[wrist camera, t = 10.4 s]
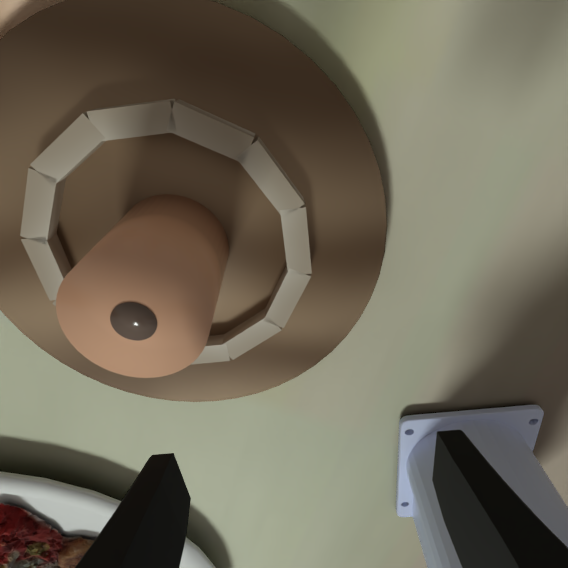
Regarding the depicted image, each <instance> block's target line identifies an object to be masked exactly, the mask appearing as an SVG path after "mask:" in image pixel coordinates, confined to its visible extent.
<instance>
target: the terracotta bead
mask: <svg viewBox="0 0 568 568" xmlns="http://www.w3.org/2000/svg"><path fill="white" fill-rule="evenodd" d="M228 256H229V244H228V239H227V235H226V233H225V230H224V228H223V226H222V225H221V223H220V222H219V220H218V219H217V218H216V216H215V215H214V214H213V213H212V212H211V211H210V210H208V209H207V208H206V207H205V206H203V205H202V204H200V203H198V202H196V201H194V200H192V199H190V198H187V197H184V196H179V195H172V194H162V195H156V196H152V197H149V198H146V199H144V200H142V201H140V202H139V203H137V204H136V205H134V206H133V207H132V208H131V209H130V210H129V211H128V212H127V213H126V214H125V215H124V216H123V217H122V218H121V219H120V220H119V221H118V223H117V224H116V225H115V226H114V227H113V228H112V229H111V230H110V231H109V232H108V233H107V234H106V235H105V236H104V237H103V238H102V239H101V240H100V241H99V242H98V243H97V244H96V245H95V246H94V247H93V248H92V249H91V250H90V251H89V252H88V253H87V254H86V255H85V256H84V257H83V258H82V259H81V260H80V261H79V262H78V263H77V265H76V266H75V267H74V268H73V269H72V270H71V271H70V272H69V273H68V274H67V275H66V276H65V278H64V279H63V281H62V282H61V285H60V287H59V289H58V293H57V297H56V313H57V317H58V321H59V324H60V326H61V329H62V331H63V332H64V334H65V336H66V337H67V339H68V340H69V341H70V343H71V344H72V345H73V346H74V347H75V348H76V349H77V351H79V352H80V353H81V354H82V355H83V356H84V357H86V358H87V359H89V360H90V361H91V362H93V363H95V364H96V365H98V366H100V367H102V368H104V369H106V370H109V371H111V372H114V373H117V374H121V375H125V376H130V377H137V378H155V377H162V376H166V375H170V374H173V373H176V372H178V371H180V370H182V369H184V368H186V367H187V366H189V365H190V364H191V363H193V362H194V361H195V360H196V359H197V358H198V357H199V355H200V354H201V353H202V351H203V349H204V348H205V346H206V343H207V340H208V337H209V333H210V329H211V325H212V321H213V317H214V313H215V309H216V305H217V301H218V297H219V293H220V289H221V285H222V281H223V277H224V273H225V270H226V266H227V262H228Z"/></svg>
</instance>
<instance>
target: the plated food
mask: <svg viewBox="0 0 568 568" xmlns="http://www.w3.org/2000/svg"><path fill="white" fill-rule="evenodd" d="M120 503H121V501H119V500H117V499H114V498H112V497H109V496H106V495H104V494H101V493H99V492H96V491H93V490H90V489H86V488H82V487H78V486H74V485H70V484H66V483H63V482H59V481H55V480H51V479H47V478H42V477H35V476H29V475H22V474H15V473H8V472H1V471H0V568H75V567H76V565H77V564H78V562H79V561H80V560H81V558H82V557H83V556H84V554H85V553H86V552H87V550H88V549H89V548H90V546H91V545H92V544H93V542H94V541H95V539H96V538H97V537H98V535H99V534H100V532H101V531H102V529H103V528H104V526H105V525H106V523H107V522H108V521H109V519H110V518H111V516H112V515H113V513H114V512H115V510H116V509H117V507H118V506H119V504H120ZM179 568H216V567H215V566H214V565H213V563H212V562H211V561H210V560H209V559H208V557H207V556H206V555H205V554H204V553H203V551H202V550H201V549H200V548H199V547H198V546H197V545H195V544H194V543H193V542H192V541H190V540H189V539H188V538H186V540H185V544H184V549H183V553H182V558H181V562H180V566H179Z"/></svg>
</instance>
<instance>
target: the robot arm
mask: <svg viewBox="0 0 568 568" xmlns="http://www.w3.org/2000/svg"><path fill="white" fill-rule="evenodd" d="M543 415H544V412H543V410H542V409H541V407H540V406H538V405H523V406H511V407H499V408H488V409H476V410H464V411H453V412H441V413H429V414H418V415H407V416H404V417H402V418H401V419H400V421H399V441H398V466H397V491H396V512H397V515H398V516H400V517H413V519H414V522H415V526H416V529H417V533H418V536H419V540H420V543H421V547H422V550H423V554H424V557H425V561H426V564H427V568H568V507H567V506H566V504H565V502H564V501H563V499H562V498H561V496H560V495H559V493H558V492H557V490H556V488H555V487H554V485H553V484H552V482H551V481H550V479H549V477H548V476H547V474H546V473H545V471H544V470H543V468H542V466H541V465H540V463H539V462H538V460H537V459H536V457H535V456H534V454H533V450H534V446H535V443H536V439H537V436H538V432H539V429H540V426H541V422H542V419H543ZM408 429H409V430H408ZM190 500H191V498H190V495H189V493H188V490H187V488H186V485H185V482H184V480H183V477H182V474H181V472H180V469H179V466H178V464H177V461H176V459H175V456H174V453H171V454H159V455H152V456H151V457H150V458H149V459H148V461H147V463H146V464H145V466H144V467H143V469H142V470H141V472H140V474H139V475H138V477H137V478H136V480H135V481H134V483H133V485H132V486H131V488H130V489H129V491H128V492H127V494H126V495H125V497H124V498H123V500H122V501H121V503H120V504H119V506H118V507H117V509H116V510H115V512H114V513H113V515H112V516H111V518H110V519H109V521H108V522H107V523H106V525H105V526H104V528H103V529H102V531H101V532H100V534H99V535H98V537H97V538H96V539H95V541H94V542H93V544H92V545H91V546H90V548H89V549H88V550H87V552H86V553H85V554H84V556H83V557H82V558H81V560H80V561H79V562H78V564H77V565H76V567H75V568H179V566H180V562H181V558H182V553H183V549H184V544H185V540H186V533H187V525H188V517H189V508H190Z"/></svg>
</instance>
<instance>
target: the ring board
mask: <svg viewBox="0 0 568 568" xmlns="http://www.w3.org/2000/svg"><path fill="white" fill-rule="evenodd" d="M162 194H172V195H179V196H184V197H187V198H190V199H192V200H194V201H196V202H198V203H200V204H202V205H203V206H205V207H206V208H207V209H208V210H210V211H211V212H212V213H213V214H214V215H215V216H216V218H217V219H218V220H219V222H220V223H221V225H222V226H223V228H224V230H225V233H226V235H227V239H228V244H229V256H228V262H227V266H226V270H225V273H224V277H223V281H222V285H221V289H220V293H219V297H218V301H217V305H216V309H215V313H214V317H213V321H212V325H211V329H210V333H209V337H208V340H207V343H206V346H205V348H204V349H203V351H202V353H201V354H200V355H199V357H198V358H197V359H196V360H195V361H194V362H193V363H191V364H190V365H189V366H187V367H186V368H184V369H182V370H180V371H178V372H176V373H173V374H170V375H166V376H162V377H155V378H137V377H130V376H125V375H121V374H117V373H114V372H111V371H109V370H106V369H104V368H102V367H100V366H98V365H96V364H95V363H93V362H91V361H90V360H89V359H87V358H86V357H84V356H83V355H82V354H81V353H80V352H79V351H77V349H76V348H75V347H74V346H73V345H72V344H71V343H70V341H69V340H68V339H67V337H66V336H65V334H64V332H63V331H62V329H61V326H60V324H59V321H58V317H57V313H56V297H57V293H58V289H59V287H60V285H61V282H62V281H63V279H64V278H65V276H66V275H67V274H68V273H69V272H70V271H71V270H72V269H73V268H74V267H75V266H76V265H77V263H78V262H79V261H80V260H81V259H82V258H83V257H84V256H85V255H86V254H87V253H88V252H89V251H90V250H91V249H92V248H93V247H94V246H95V245H96V244H97V243H98V242H99V241H100V240H101V239H102V238H103V237H104V236H105V235H106V234H107V233H108V232H109V231H110V230H111V229H112V228H113V227H114V226H115V225H116V224H117V223H118V221H119V220H120V219H121V218H122V217H123V216H124V215H125V214H126V213H127V212H128V211H129V210H130V209H131V208H132V207H133V206H134V205H136V204H137V203H139V202H140V201H142V200H144V199H146V198H149V197H152V196H156V195H162ZM386 231H387V219H386V201H385V194H384V189H383V184H382V179H381V174H380V170H379V167H378V164H377V161H376V158H375V155H374V152H373V150H372V147H371V144H370V141H369V139H368V137H367V135H366V133H365V131H364V130H363V128H362V126H361V124H360V122H359V120H358V118H357V116H356V114H355V112H354V111H353V109H352V108H351V107H350V105H349V104H348V102H347V101H346V99H345V98H344V97H343V95H342V94H341V92H340V91H339V89H338V88H337V87H336V85H335V84H334V83H333V82H332V81H331V80H330V79H329V78H328V77H327V76H326V74H325V73H324V72H323V71H322V70H321V69H320V68H319V67H318V66H317V65H316V64H315V63H314V62H313V61H312V59H310V58H309V57H308V56H307V55H305V54H304V53H303V52H302V51H301V50H299V49H298V48H297V47H296V46H294V45H293V44H292V43H291V42H289V41H288V40H287V39H286V38H285V37H283V36H282V35H280V34H278V33H277V32H275V31H273V30H272V29H270V28H269V27H267V26H265V25H264V24H262V23H260V22H259V21H257V20H255V19H254V18H252V17H250V16H248V15H245V14H243V13H241V12H238V11H236V10H234V9H231V8H229V7H227V6H224V5H222V4H219V3H217V2H214V1H210V0H65V1H63V2H61V3H58V4H56V5H54V6H51V7H49V8H46V9H44V10H42V11H39V12H37V13H36V14H34V15H33V16H31V17H30V18H28V19H27V20H25V21H24V22H22V23H21V24H19V25H17V26H16V27H14V28H13V29H11V30H10V31H9V32H8V33H7V34H6V35H5V36H4V37H3V38H2V39H0V310H1V311H2V312H3V314H4V315H5V316H6V317H7V318H8V319H9V320H10V321H11V322H12V323H13V324H14V325H15V326H16V327H17V328H18V329H19V330H20V331H21V332H22V333H23V334H24V335H26V336H27V337H28V338H29V339H30V340H32V341H33V342H34V343H35V344H36V345H38V346H39V347H40V348H41V349H43V350H44V351H46V352H47V353H48V354H50V355H51V356H53V357H54V358H56V359H57V360H59V361H60V362H62V363H63V364H65V365H67V366H69V367H70V368H72V369H74V370H76V371H78V372H79V373H81V374H83V375H85V376H87V377H90V378H92V379H94V380H96V381H99V382H101V383H103V384H105V385H108V386H111V387H114V388H117V389H120V390H123V391H126V392H130V393H134V394H138V395H142V396H146V397H151V398H158V399H164V400H171V401H188V402H202V401H219V400H226V399H233V398H239V397H243V396H247V395H252V394H256V393H259V392H262V391H265V390H268V389H270V388H273V387H276V386H279V385H281V384H283V383H285V382H287V381H289V380H291V379H293V378H295V377H297V376H299V375H300V374H302V373H303V372H305V371H307V370H308V369H310V368H311V367H313V366H314V365H316V364H317V363H318V362H319V361H321V360H322V359H323V358H324V357H326V356H327V355H328V354H329V353H330V352H332V351H333V350H334V349H335V347H336V346H337V345H338V344H339V343H340V342H341V341H342V340H343V339H344V338H345V337H346V336H347V335H348V333H349V332H350V331H351V329H352V328H353V326H354V325H355V324H356V322H357V321H358V320H359V318H360V317H361V315H362V313H363V311H364V309H365V307H366V306H367V304H368V302H369V300H370V298H371V296H372V293H373V291H374V288H375V285H376V283H377V280H378V278H379V274H380V270H381V266H382V261H383V257H384V253H385V242H386Z"/></svg>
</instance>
